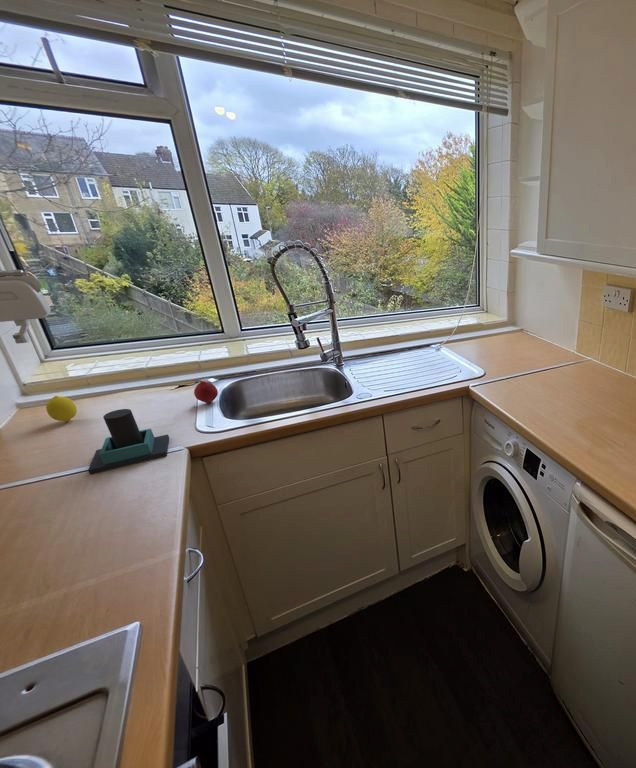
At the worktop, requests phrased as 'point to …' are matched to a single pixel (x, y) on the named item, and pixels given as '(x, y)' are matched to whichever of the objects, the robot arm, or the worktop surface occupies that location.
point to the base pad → (129, 452)
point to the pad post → (123, 428)
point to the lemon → (61, 408)
